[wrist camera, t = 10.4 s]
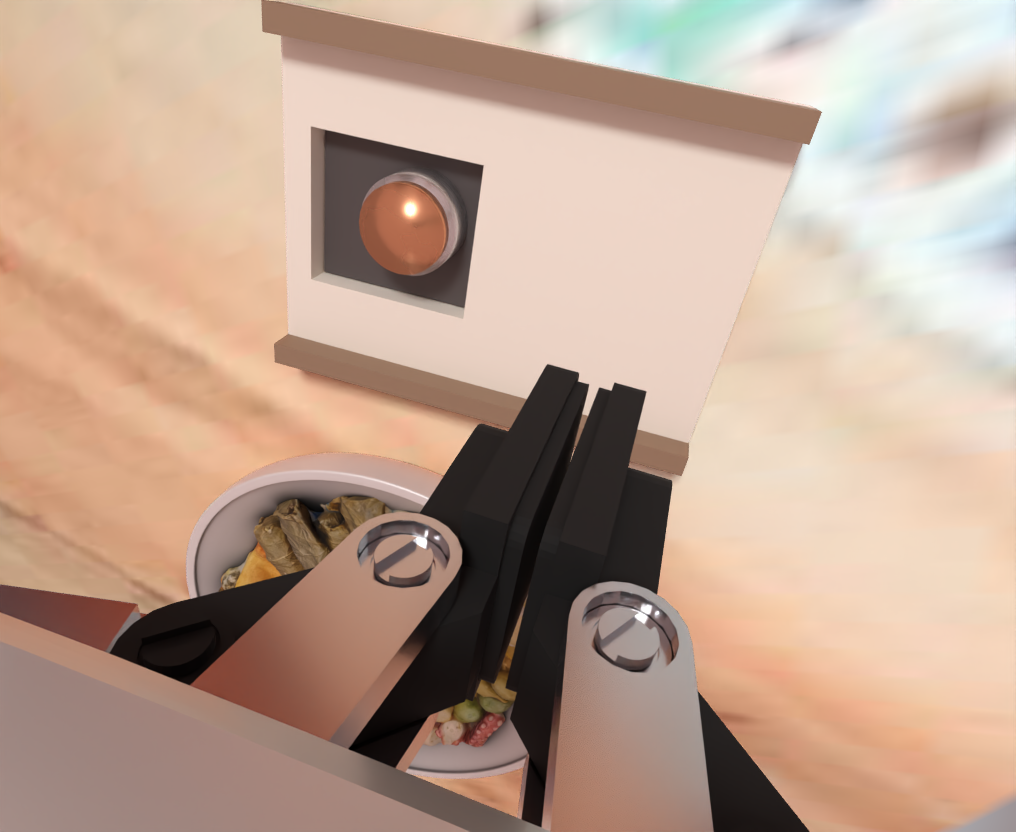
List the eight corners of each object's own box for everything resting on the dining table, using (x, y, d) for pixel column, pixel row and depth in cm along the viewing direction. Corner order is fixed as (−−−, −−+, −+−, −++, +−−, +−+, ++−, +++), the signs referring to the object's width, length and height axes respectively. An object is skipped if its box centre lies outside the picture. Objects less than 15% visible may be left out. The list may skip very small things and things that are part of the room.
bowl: (216, 376, 44) (130, 435, 37) (646, 510, 40) (636, 602, 34) (235, 654, 60) (177, 729, 53) (544, 767, 56) (523, 863, 49)
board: (810, 105, 27) (821, 111, 25) (682, 446, 37) (681, 475, 34) (297, 3, 30) (261, -1, 28) (301, 342, 40) (274, 362, 37)
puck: (477, 184, 32) (458, 196, 30) (456, 276, 35) (438, 293, 32) (385, 154, 33) (360, 162, 30) (372, 247, 35) (347, 262, 33)
